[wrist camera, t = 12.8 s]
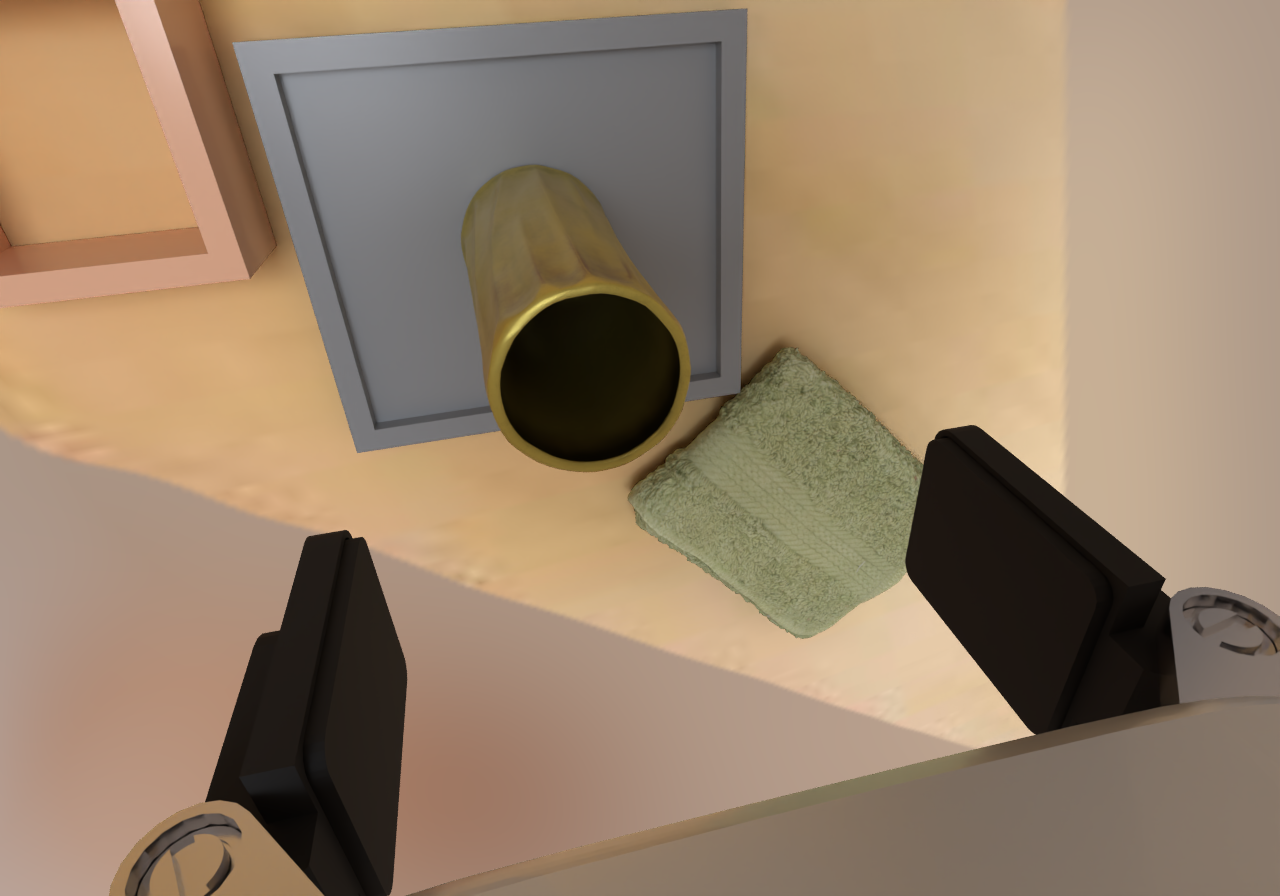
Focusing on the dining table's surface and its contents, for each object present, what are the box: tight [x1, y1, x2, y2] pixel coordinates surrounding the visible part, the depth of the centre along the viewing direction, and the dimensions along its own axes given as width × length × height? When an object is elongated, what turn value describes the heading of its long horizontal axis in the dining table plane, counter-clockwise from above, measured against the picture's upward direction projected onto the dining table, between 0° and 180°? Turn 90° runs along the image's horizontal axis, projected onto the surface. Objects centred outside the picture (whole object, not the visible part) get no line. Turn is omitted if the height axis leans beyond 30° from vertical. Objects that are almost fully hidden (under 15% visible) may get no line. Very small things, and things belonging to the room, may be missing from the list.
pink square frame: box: [0, 0, 277, 308], centre depth 23 cm, size 10×10×4 cm
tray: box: [232, 9, 747, 453], centre depth 30 cm, size 18×16×2 cm
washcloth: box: [628, 347, 923, 639], centre depth 40 cm, size 13×18×3 cm
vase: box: [461, 165, 691, 472], centre depth 24 cm, size 6×6×14 cm
